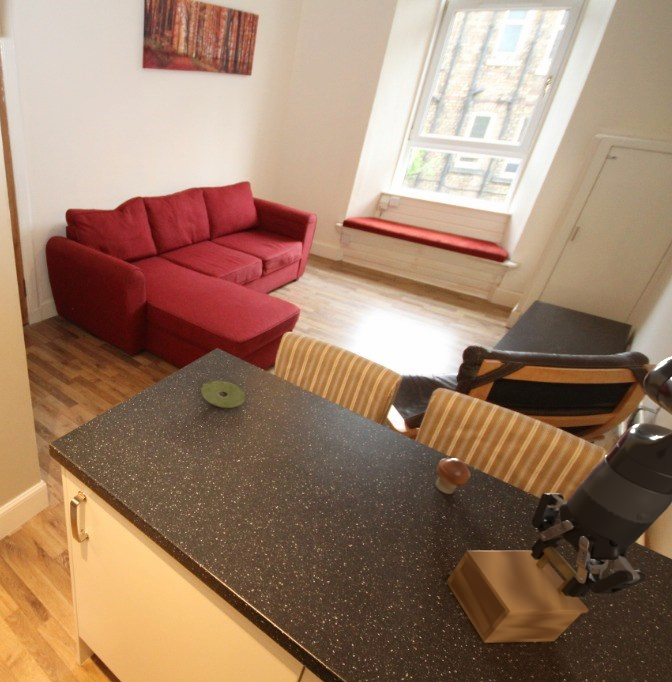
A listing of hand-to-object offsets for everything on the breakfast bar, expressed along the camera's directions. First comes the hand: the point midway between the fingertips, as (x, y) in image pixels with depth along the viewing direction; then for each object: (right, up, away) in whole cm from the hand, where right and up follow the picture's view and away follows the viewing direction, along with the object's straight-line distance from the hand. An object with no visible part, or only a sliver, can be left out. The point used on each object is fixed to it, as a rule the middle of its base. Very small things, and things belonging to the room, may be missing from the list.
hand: (552, 574), depth 67 cm
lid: (-4, -1, 0) cm, 4 cm away
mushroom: (+1, +4, +26) cm, 27 cm away
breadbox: (-5, -8, +4) cm, 10 cm away
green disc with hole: (-43, +20, +47) cm, 67 cm away
